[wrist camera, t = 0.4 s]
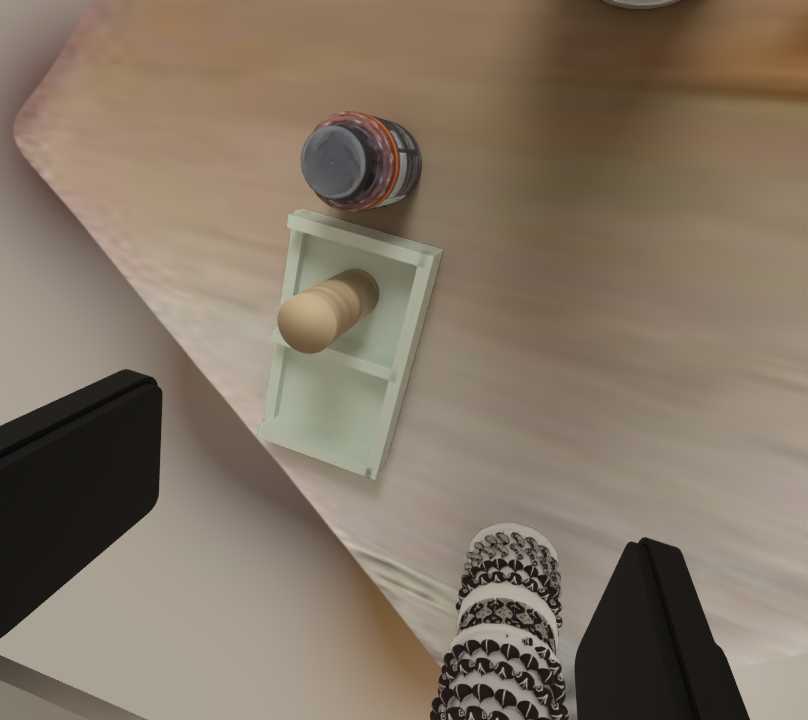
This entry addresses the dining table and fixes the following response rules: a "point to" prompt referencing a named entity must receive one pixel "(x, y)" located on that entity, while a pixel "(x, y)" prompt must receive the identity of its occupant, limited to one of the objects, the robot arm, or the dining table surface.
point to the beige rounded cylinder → (327, 310)
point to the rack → (349, 346)
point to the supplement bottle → (360, 162)
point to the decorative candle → (505, 632)
